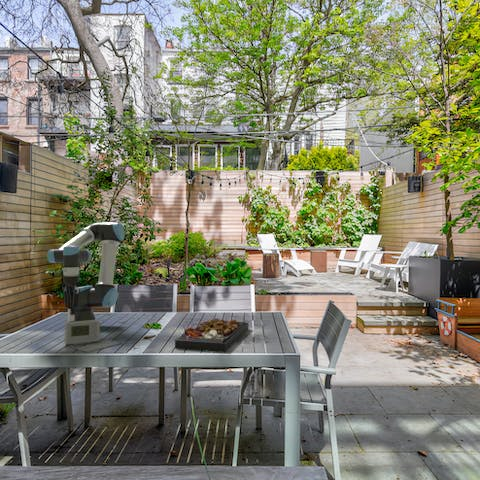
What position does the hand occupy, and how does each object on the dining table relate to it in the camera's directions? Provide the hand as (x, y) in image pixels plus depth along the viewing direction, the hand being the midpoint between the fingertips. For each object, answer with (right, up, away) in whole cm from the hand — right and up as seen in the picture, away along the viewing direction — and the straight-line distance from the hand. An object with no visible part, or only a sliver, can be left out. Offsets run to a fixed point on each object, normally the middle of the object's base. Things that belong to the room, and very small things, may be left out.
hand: (71, 320), depth 190 cm
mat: (+19, -9, -13) cm, 25 cm away
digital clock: (+9, -10, -6) cm, 14 cm away
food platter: (+75, -10, +1) cm, 75 cm away
